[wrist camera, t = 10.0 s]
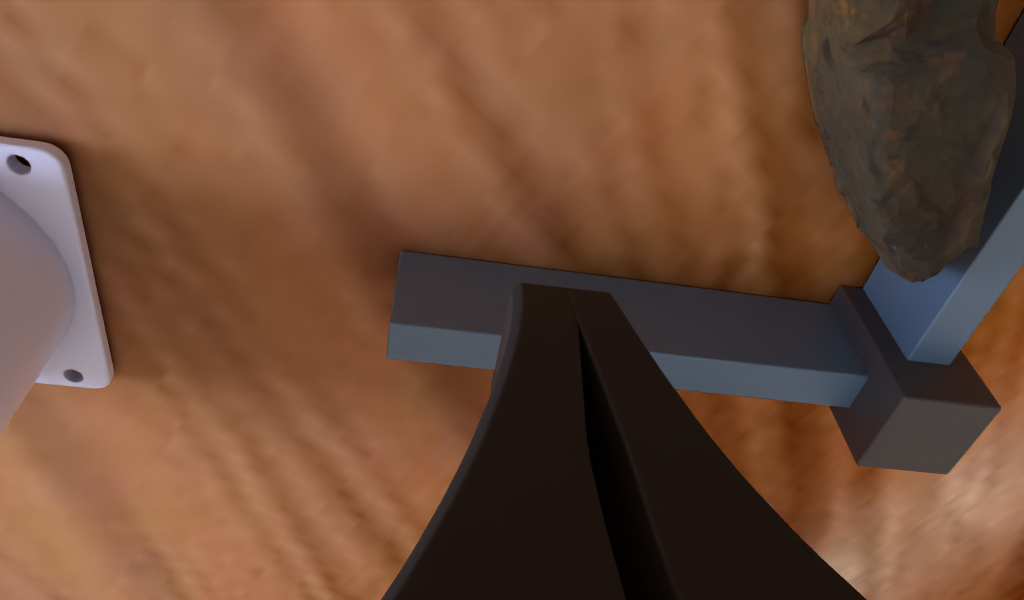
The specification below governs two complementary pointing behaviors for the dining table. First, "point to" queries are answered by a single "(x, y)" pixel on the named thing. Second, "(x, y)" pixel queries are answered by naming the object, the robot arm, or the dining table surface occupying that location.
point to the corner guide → (778, 330)
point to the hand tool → (911, 119)
